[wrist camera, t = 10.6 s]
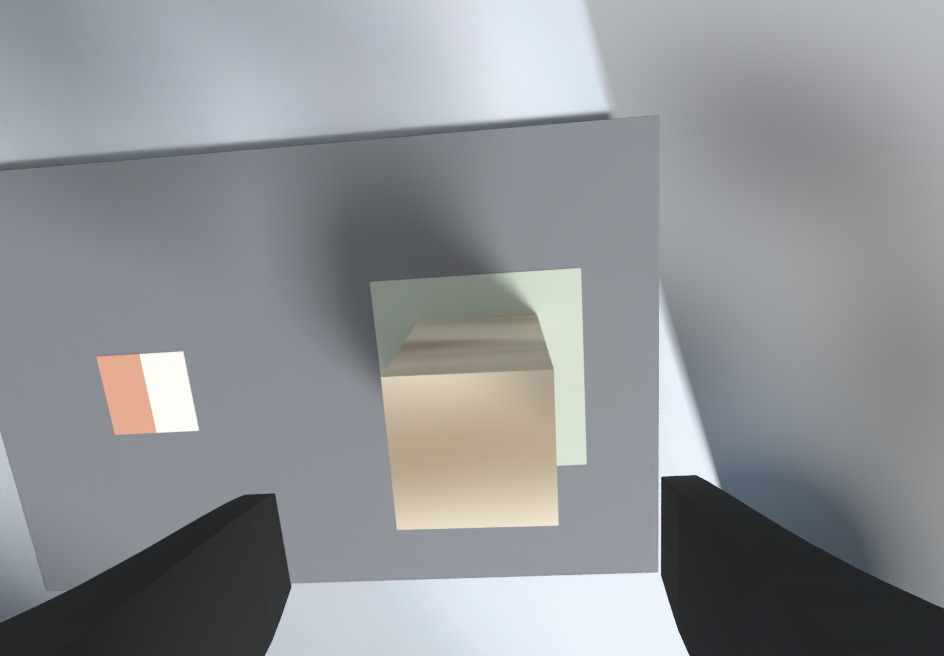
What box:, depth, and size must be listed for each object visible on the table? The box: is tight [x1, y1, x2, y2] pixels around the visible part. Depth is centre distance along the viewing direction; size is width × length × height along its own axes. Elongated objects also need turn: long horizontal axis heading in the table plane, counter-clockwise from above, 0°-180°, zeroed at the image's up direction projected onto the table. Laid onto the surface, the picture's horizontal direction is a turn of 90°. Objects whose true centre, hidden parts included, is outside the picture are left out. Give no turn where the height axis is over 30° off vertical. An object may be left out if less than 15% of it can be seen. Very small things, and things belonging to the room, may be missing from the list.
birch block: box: [381, 315, 559, 530], centre depth 16 cm, size 4×4×6 cm
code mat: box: [0, 115, 659, 591], centre depth 20 cm, size 16×24×1 cm, turn 94°
